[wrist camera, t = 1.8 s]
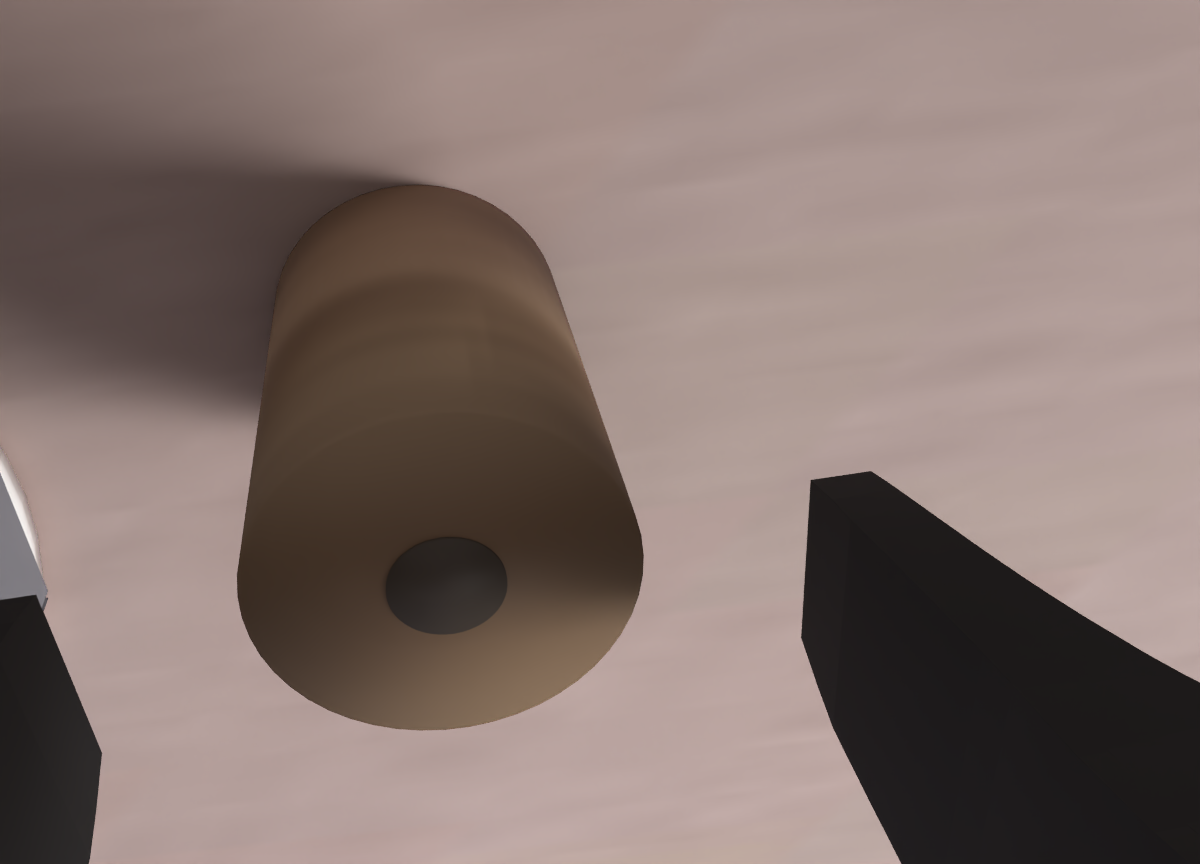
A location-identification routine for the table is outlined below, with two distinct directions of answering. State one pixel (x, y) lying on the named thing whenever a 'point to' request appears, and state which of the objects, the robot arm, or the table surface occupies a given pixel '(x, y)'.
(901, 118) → the table surface
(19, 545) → the ring dish
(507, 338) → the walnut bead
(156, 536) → the table surface
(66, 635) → the table surface
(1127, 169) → the table surface
